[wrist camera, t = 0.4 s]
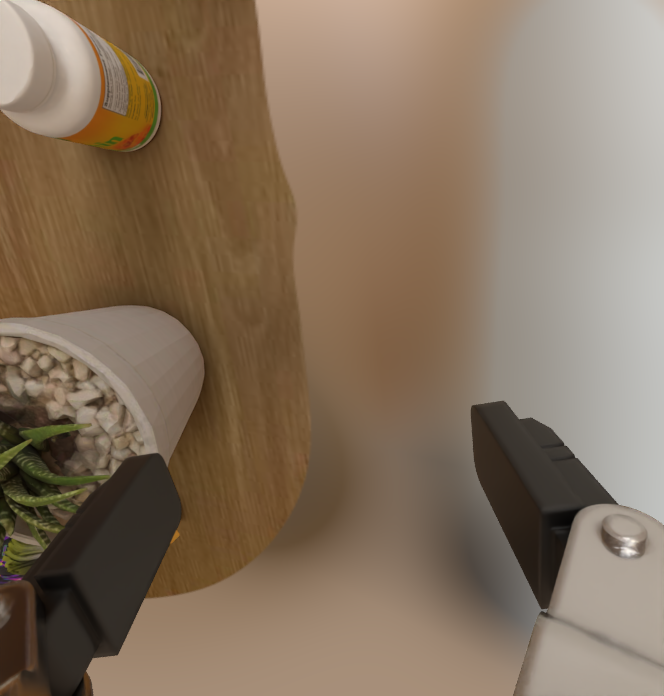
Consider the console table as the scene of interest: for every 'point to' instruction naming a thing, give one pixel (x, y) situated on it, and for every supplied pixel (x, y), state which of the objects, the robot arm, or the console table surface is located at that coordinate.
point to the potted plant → (86, 407)
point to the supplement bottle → (72, 81)
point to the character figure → (17, 559)
